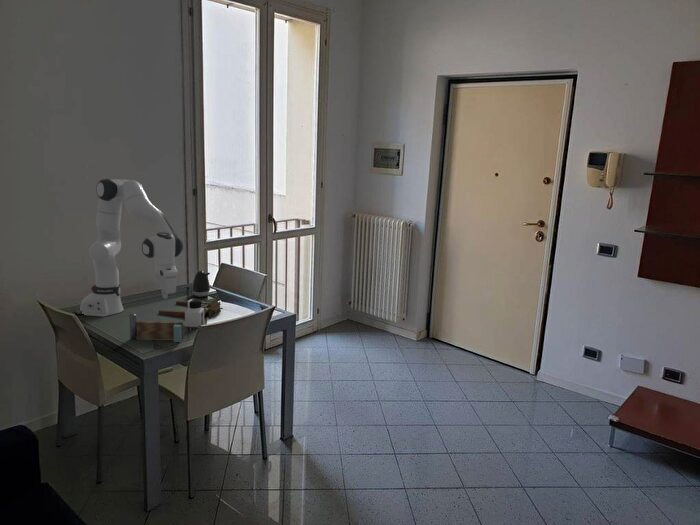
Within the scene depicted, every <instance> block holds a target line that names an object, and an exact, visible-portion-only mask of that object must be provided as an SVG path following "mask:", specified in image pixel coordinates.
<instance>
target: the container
mask: <svg viewBox="0 0 700 525" xmlns="http://www.w3.org/2000/svg"><path fill="white" fill-rule="evenodd" d="M187 301H188V306H187V310H186V311H184V312H185V316H184V327H187V328H199V327H198V326H199V325H202V326H203V324H204V323H205V316H204V308H201V302H202V300H201V299H198V298H191V299H188V300H187Z"/></svg>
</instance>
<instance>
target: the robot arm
mask: <svg viewBox="0 0 700 525" xmlns="http://www.w3.org/2000/svg"><path fill="white" fill-rule="evenodd" d="M95 189H96V190H95V192H96V195H97V196H98V202H97V208H96V209H97V210H96V218H95V219H96V221H95V226H96V230H97V240H96V241H94V242H93V243H92V244H91V246H90V247H89V250H88V256H89V257H90V259H91V261H92V265H93V270H94V276H95V280H94V281H95V283H94V284H93V285H92V287H91V288H90V289H91V290H90V291H92V292H91V293H89V294H88V295H86V296H85V297H84V298H83V299H82V300H81V302H80V306H79V307H80V310H81V311H83V312H82V314H84V315H83V316H94V317H107V316H110V315H115V314H119V313H121V312H123V311H124V310H125V309H124V306H123V303H122V299H121V290H122V289H121V284H120V279H119V278H120V276H119V275H120V274H119V272H120V271H119V269H118V267H117V264H116V255H118V254H119V253H120V251H121V249H122V241H121V230H120V229H121V219H122V218H121V217H122V205H124V207H125V210H126V212H127V213H128V215H129V216H130V217H131V218H133V219H135V220H138V221H144V222H148V223H150V224H153V225H155V226H156V228H157V229H158V230H159V232H157V233H155V235H154V236H150V237H146V238H145V239H144V240H143V241H142V244H141V253H142V254H143V255H144V256H145V257H147V258H148V259H154V263H153V264H154V265H153V266H154V284H156V285H157V286H158V287H159V288H160V291H161V297H162V299H166V300H167V299H168V297H169V294H171V295H172V294H175V293H176V291H177V281H178V280H177V277H178V276H179V274H178V273H179V272H178V270H177V268H176V261H175V260H176V259H175V258H176V257H179V256H180V254H181V253H182V252H183V251H184V242H183V240H182V239H181V238H180V237H179V236H178V234H177V233H176V232H175V231H174V228H173V227H172V226H171V224H170V222H169V221H168V219H167V218H166V216H165V214H164V213H163V212H162V211H161V209H159V208H157V207H156V206H155V205H154V204H152V202H151V201H150V200H149V197H148V195H147V193H146V191H145V189H144V187H143V185H142V183H141V182H139V181H137V180H134V179H125V178H122V179H121V178H120V179H117V178H115V179H114V178H113V179H110V178H102V179H100V180H99V181H98V182H97V183H96V188H95Z"/></svg>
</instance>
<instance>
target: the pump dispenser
mask: <svg viewBox="0 0 700 525" xmlns="http://www.w3.org/2000/svg"><path fill="white" fill-rule="evenodd" d="M209 275H211V273H210V272H205V271H203V270H198V271H197V272H196V273H195V276H194V277H193V281H192V285H191V290H192V293H193V295H194V296H196V297H198V298H204V297H206V296H208V295H209V293H210V290H211V285H210V282H209V281H210V280H209V278H208V276H209ZM203 296H204V297H203Z"/></svg>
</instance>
